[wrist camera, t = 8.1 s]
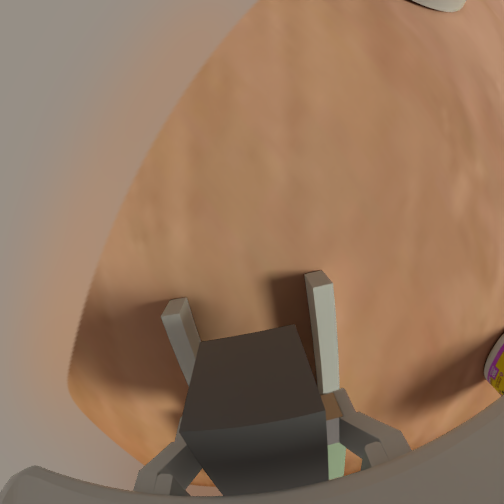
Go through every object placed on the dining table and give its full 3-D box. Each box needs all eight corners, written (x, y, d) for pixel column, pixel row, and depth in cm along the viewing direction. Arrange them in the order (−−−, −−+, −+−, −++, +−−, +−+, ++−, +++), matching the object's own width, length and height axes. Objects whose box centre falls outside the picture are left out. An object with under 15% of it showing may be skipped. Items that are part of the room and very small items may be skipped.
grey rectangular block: (310, 427, 13) (329, 500, 8) (238, 440, 13) (238, 514, 8) (294, 324, 11) (325, 410, 6) (199, 341, 11) (178, 431, 6)
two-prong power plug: (165, 300, 15) (129, 364, 9) (326, 269, 15) (371, 320, 9) (238, 468, 19) (238, 521, 14) (335, 451, 19) (351, 502, 14)
